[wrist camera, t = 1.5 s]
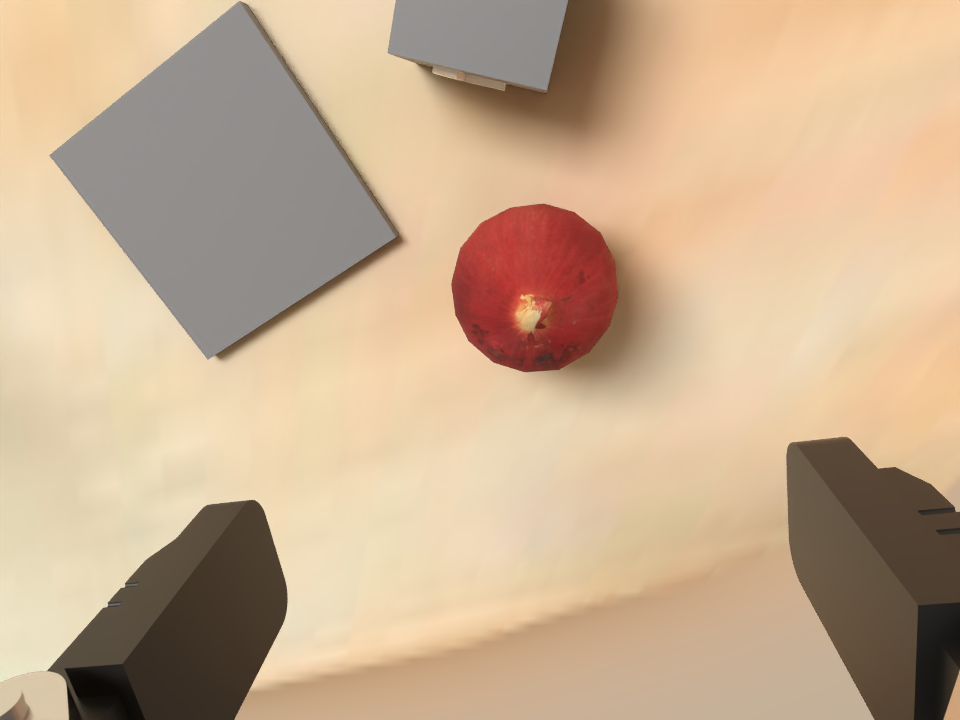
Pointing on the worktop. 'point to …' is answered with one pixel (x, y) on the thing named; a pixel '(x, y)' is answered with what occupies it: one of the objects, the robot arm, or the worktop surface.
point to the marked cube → (481, 39)
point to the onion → (534, 287)
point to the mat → (225, 184)
